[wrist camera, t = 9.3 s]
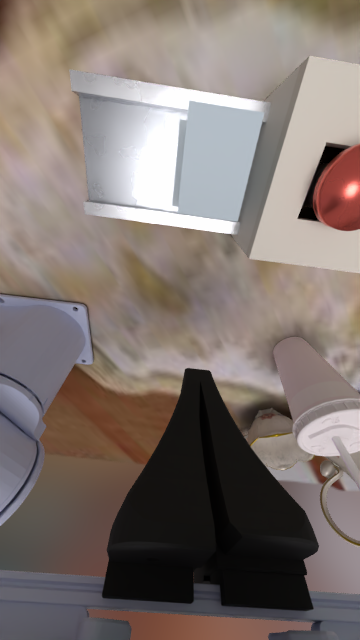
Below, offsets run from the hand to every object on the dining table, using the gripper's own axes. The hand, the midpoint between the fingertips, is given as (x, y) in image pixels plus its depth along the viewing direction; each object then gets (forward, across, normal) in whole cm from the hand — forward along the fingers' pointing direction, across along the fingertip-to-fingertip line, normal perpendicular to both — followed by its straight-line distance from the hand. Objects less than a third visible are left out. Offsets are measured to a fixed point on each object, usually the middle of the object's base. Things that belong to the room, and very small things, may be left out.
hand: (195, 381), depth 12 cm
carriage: (+9, +1, -10) cm, 14 cm away
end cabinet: (+10, -6, -10) cm, 15 cm away
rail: (+10, +3, -10) cm, 15 cm away
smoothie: (+11, -12, +5) cm, 17 cm away
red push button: (+8, -6, -10) cm, 14 cm away
